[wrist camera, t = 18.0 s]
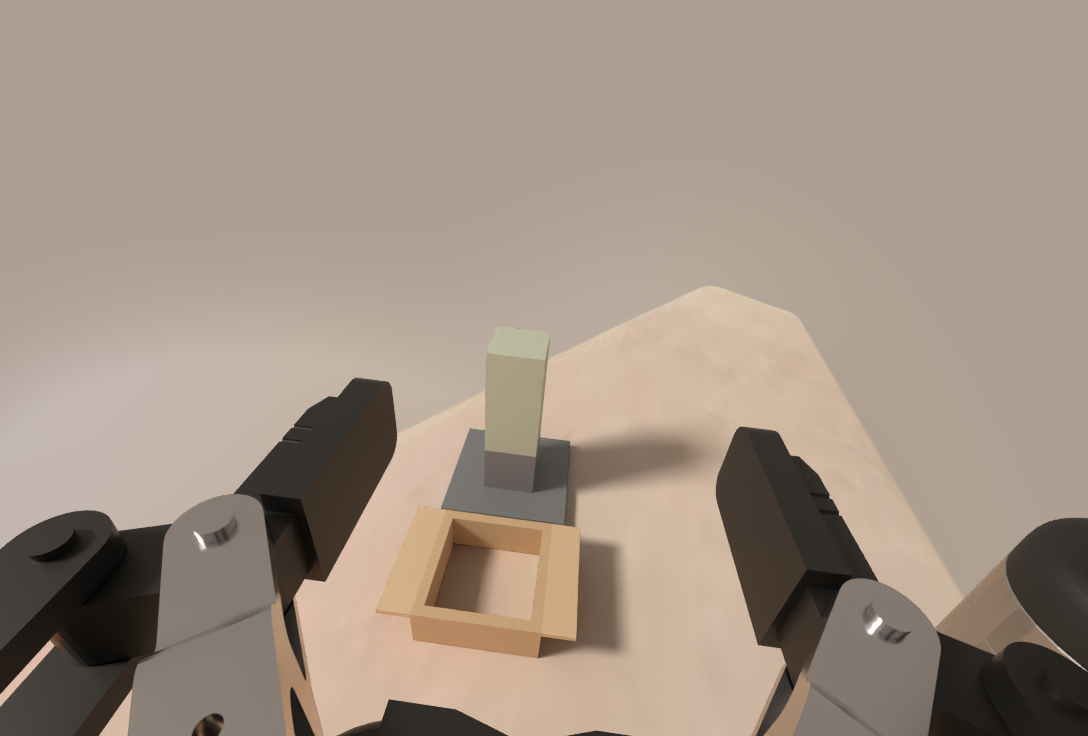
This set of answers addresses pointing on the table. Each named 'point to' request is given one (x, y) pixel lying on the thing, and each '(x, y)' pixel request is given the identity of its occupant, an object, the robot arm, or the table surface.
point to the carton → (418, 591)
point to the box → (514, 407)
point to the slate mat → (534, 506)
